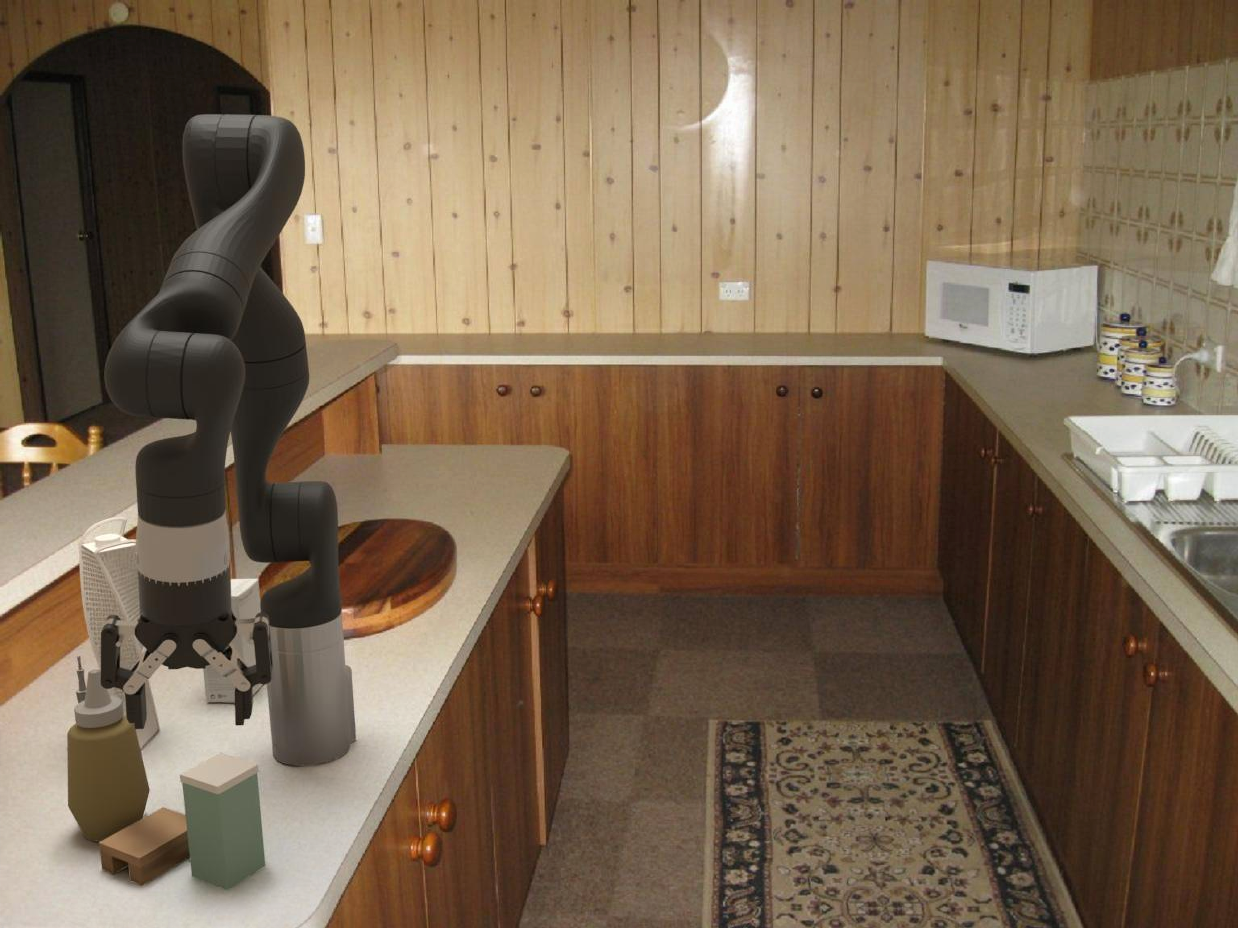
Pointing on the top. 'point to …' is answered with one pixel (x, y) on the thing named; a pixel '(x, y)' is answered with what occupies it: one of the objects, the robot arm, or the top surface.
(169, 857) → the brown wooden bridge block
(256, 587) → the skincare box
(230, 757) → the tin
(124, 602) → the skyscraper
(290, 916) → the top surface
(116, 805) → the squeeze bottle
